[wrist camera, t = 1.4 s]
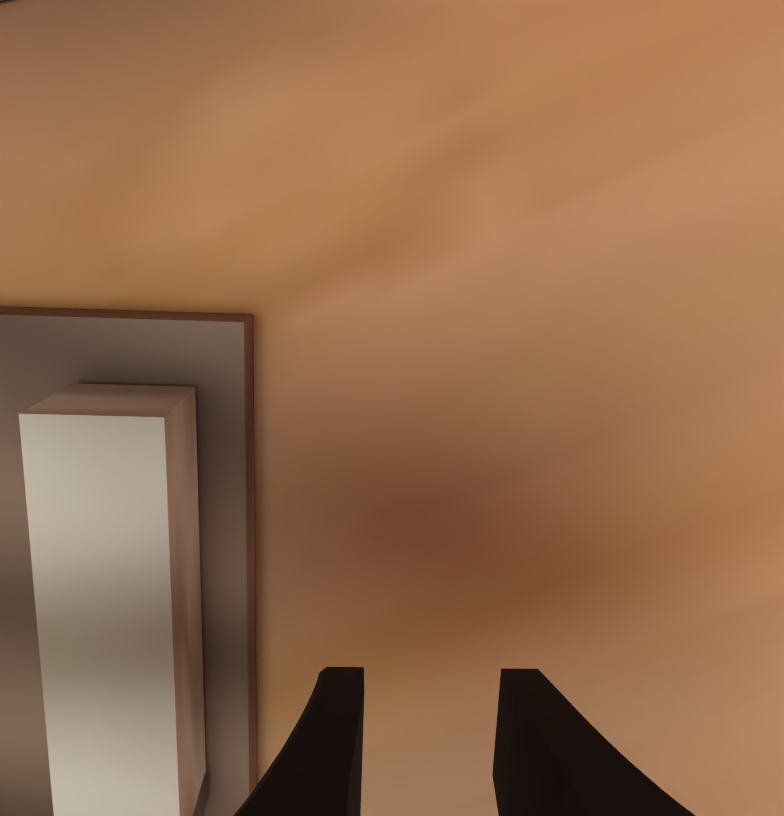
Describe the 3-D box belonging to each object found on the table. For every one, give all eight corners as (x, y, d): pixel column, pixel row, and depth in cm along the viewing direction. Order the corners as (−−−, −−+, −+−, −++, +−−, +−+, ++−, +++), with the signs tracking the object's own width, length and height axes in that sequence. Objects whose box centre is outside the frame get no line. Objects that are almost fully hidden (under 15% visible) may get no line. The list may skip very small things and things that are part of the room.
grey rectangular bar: (211, 832, 20) (187, 926, 18) (99, 832, 20) (58, 927, 18) (199, 386, 17) (169, 417, 15) (68, 382, 17) (13, 413, 14)
